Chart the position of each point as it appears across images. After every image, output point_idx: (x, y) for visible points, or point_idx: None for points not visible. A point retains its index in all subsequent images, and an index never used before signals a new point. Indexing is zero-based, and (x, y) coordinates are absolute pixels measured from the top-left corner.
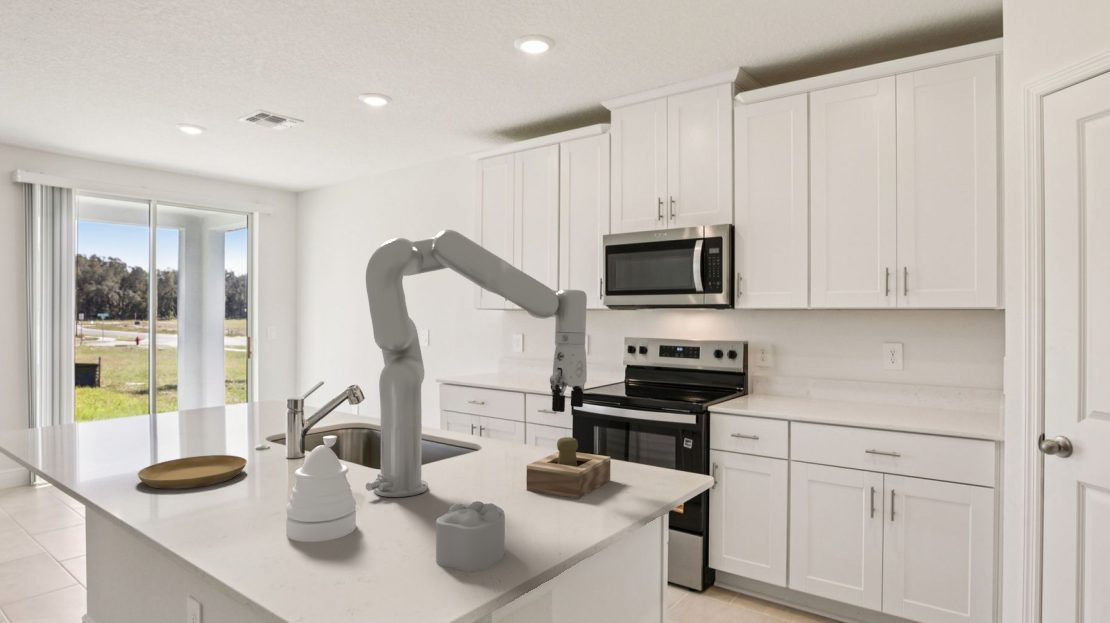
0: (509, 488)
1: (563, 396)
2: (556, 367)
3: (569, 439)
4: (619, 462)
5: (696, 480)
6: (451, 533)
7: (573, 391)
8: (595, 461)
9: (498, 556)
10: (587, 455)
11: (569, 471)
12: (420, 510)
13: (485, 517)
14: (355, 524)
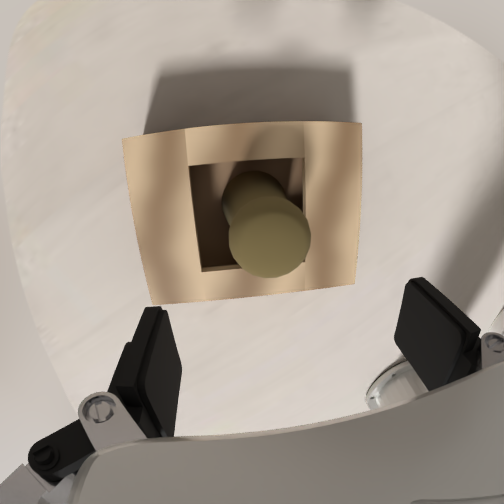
0: (336, 290)
1: (475, 330)
2: None
3: (289, 229)
4: (11, 217)
5: (48, 3)
6: None
7: (166, 434)
8: (208, 142)
9: None
10: (152, 210)
11: (361, 152)
12: (460, 309)
13: None
14: (502, 313)
